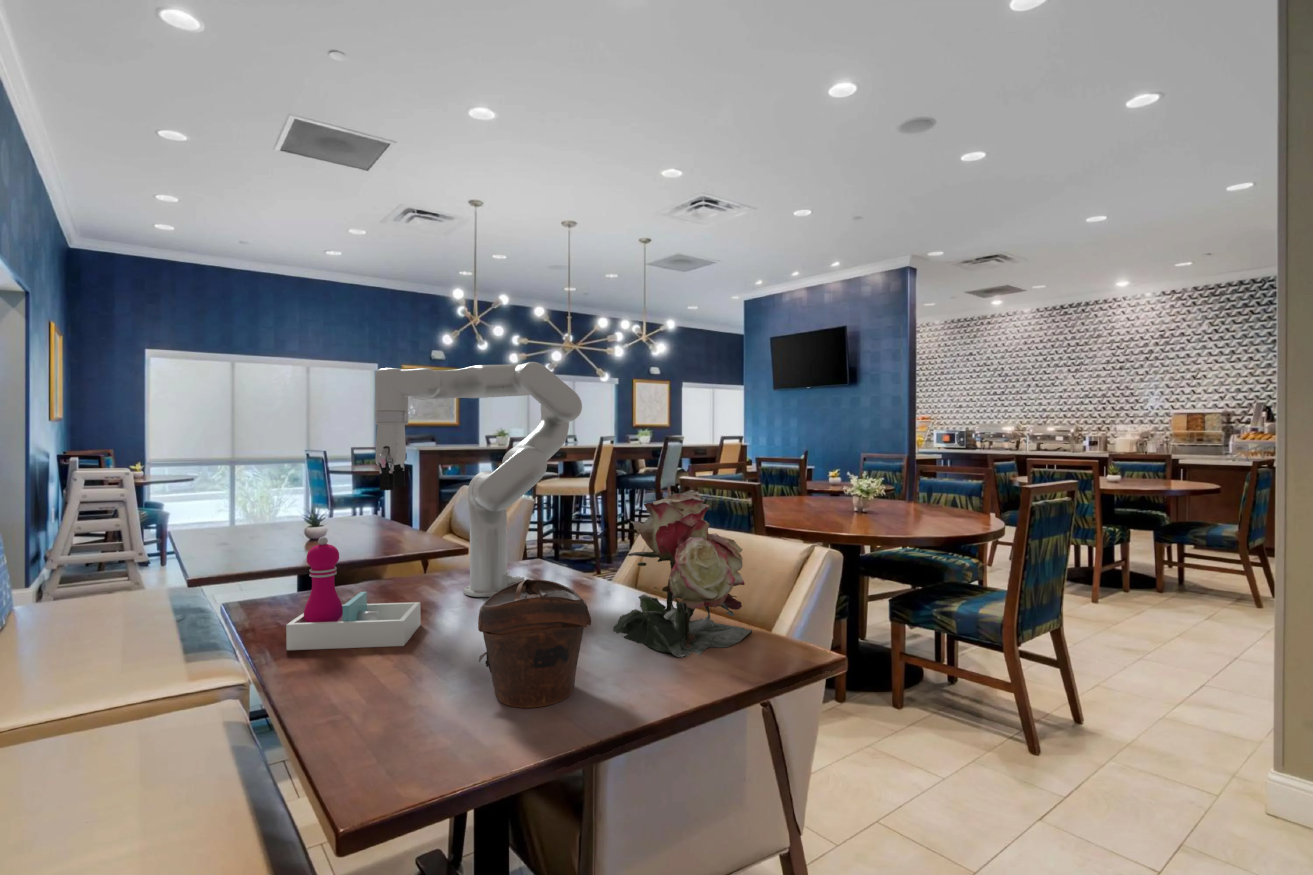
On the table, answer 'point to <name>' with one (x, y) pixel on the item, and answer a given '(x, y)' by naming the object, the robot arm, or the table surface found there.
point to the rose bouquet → (685, 579)
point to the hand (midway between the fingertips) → (392, 488)
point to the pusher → (358, 609)
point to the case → (533, 641)
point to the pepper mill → (323, 584)
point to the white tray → (357, 629)
